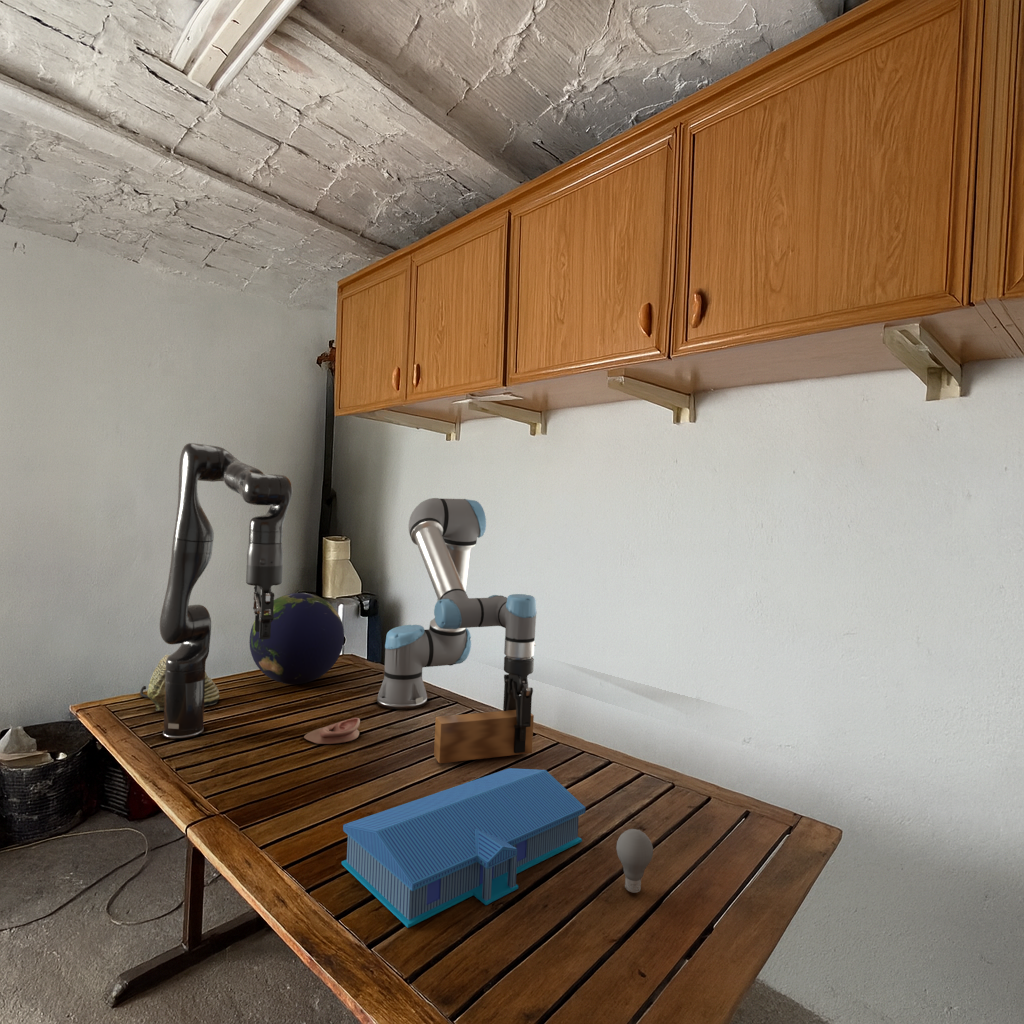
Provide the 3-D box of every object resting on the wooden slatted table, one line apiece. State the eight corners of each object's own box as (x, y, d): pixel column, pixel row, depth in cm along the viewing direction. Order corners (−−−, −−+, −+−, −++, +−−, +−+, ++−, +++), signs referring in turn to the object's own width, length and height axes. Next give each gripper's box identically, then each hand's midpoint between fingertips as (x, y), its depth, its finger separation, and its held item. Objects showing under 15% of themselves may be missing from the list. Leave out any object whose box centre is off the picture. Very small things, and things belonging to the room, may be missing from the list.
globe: (227, 687, 204) (230, 594, 203) (291, 666, 231) (294, 584, 231) (301, 702, 192) (305, 604, 192) (360, 678, 220) (363, 592, 220)
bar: (439, 763, 150) (441, 723, 150) (433, 755, 155) (435, 716, 155) (532, 752, 159) (533, 715, 159) (524, 745, 164) (526, 708, 164)
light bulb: (610, 879, 108) (613, 822, 108) (644, 879, 109) (647, 822, 109) (619, 902, 102) (622, 840, 102) (655, 901, 103) (658, 840, 103)
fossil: (144, 707, 182) (145, 655, 182) (212, 696, 194) (213, 647, 194) (151, 716, 175) (153, 662, 175) (221, 703, 188) (223, 653, 188)
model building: (420, 939, 92) (422, 871, 92) (340, 863, 110) (342, 805, 110) (595, 848, 118) (598, 795, 118) (507, 798, 136) (509, 752, 136)
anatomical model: (298, 725, 162) (320, 711, 174) (297, 741, 162) (319, 726, 174) (346, 731, 160) (365, 717, 171) (345, 747, 160) (365, 731, 171)
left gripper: (287, 566, 137) (284, 640, 138) (277, 559, 150) (275, 627, 150) (250, 566, 134) (247, 643, 134) (243, 559, 146) (241, 629, 147)
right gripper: (547, 664, 153) (543, 760, 153) (519, 647, 170) (515, 733, 170) (519, 666, 150) (514, 763, 151) (492, 648, 167) (489, 736, 167)
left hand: (262, 635), depth 142 cm, fingers open, 8 cm apart
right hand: (515, 747), depth 160 cm, fingers closed on bar, 5 cm apart
